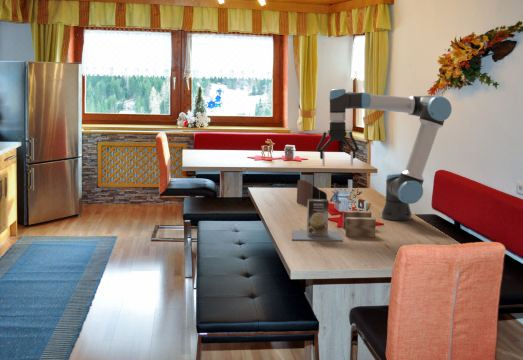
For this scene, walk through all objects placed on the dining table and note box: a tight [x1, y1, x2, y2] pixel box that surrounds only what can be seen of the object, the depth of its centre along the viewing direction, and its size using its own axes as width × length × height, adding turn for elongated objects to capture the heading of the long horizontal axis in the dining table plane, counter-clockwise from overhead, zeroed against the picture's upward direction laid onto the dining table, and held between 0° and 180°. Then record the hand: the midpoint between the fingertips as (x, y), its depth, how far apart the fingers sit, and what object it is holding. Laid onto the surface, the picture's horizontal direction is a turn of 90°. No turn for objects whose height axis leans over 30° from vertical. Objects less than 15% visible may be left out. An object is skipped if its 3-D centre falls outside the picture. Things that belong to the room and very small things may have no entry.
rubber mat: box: [291, 229, 343, 242], centre depth 301 cm, size 22×18×1 cm
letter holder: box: [296, 179, 328, 208], centre depth 378 cm, size 10×20×14 cm, turn 21°
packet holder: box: [342, 210, 377, 238], centre depth 311 cm, size 13×20×8 cm, turn 178°
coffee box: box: [306, 198, 330, 236], centre depth 300 cm, size 9×6×16 cm
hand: (337, 165), depth 322 cm, fingers open, 13 cm apart
